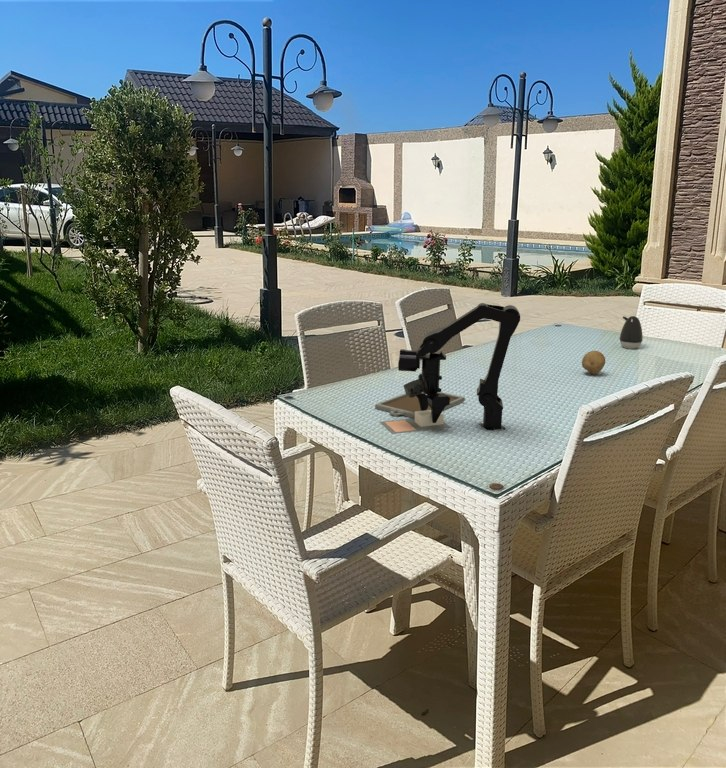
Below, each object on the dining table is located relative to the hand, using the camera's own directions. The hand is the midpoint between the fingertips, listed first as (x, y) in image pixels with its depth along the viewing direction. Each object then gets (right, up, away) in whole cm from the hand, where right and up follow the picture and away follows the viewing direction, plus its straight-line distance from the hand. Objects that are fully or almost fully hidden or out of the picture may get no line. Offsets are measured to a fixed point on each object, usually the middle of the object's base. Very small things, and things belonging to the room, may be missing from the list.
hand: (428, 418), depth 235 cm
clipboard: (-2, +3, +18) cm, 18 cm away
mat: (-5, -2, -1) cm, 5 cm away
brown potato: (+72, +15, +62) cm, 96 cm away
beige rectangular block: (0, -1, 0) cm, 1 cm away
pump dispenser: (+105, +28, +109) cm, 154 cm away
